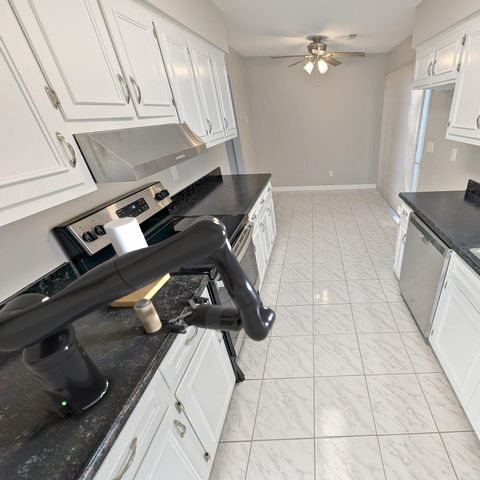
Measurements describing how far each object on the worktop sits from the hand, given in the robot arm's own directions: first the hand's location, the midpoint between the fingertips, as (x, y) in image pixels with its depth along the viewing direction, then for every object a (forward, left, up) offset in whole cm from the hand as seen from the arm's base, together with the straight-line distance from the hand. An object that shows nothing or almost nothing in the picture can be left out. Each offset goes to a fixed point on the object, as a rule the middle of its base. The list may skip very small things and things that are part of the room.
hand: (170, 311), depth 85 cm
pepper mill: (0, +11, -9) cm, 14 cm away
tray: (+17, +33, -9) cm, 38 cm away
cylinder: (+33, +50, -9) cm, 61 cm away
